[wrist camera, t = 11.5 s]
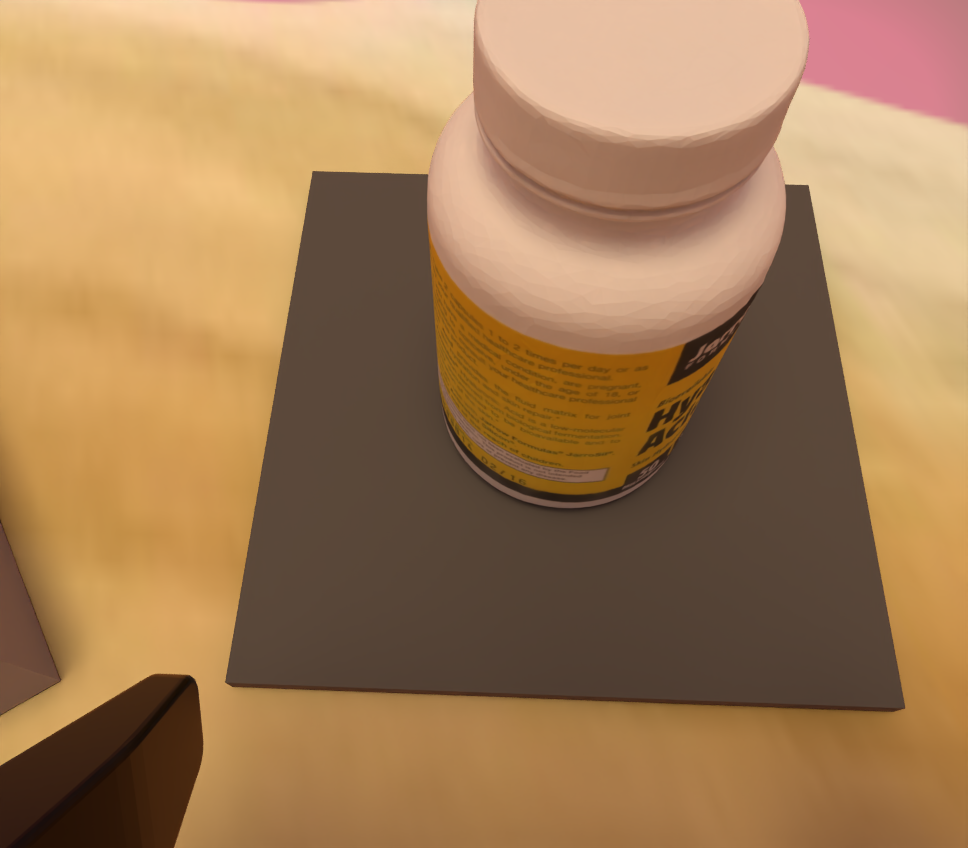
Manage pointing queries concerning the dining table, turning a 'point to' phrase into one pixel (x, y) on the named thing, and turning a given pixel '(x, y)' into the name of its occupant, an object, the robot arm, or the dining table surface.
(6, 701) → the grey square frame
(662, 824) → the dining table surface
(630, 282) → the supplement bottle
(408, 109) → the dining table surface
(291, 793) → the dining table surface
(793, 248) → the mat
